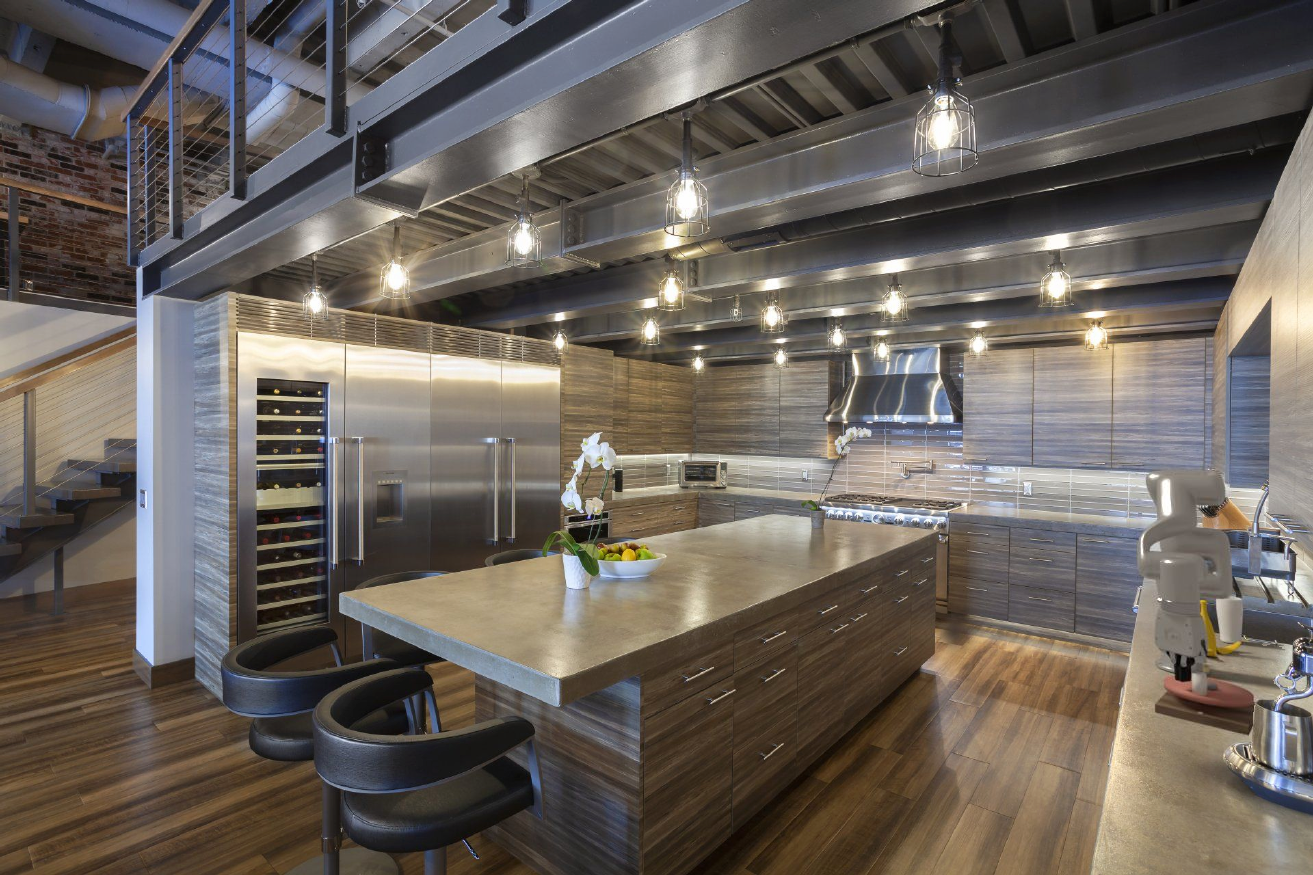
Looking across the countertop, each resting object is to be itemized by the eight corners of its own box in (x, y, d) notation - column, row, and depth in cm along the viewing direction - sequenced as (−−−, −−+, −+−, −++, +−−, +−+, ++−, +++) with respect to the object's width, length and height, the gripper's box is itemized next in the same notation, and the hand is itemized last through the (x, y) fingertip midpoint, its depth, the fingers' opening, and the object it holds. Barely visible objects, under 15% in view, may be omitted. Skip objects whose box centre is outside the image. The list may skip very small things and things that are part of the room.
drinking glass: (1250, 645, 209) (1248, 599, 209) (1229, 645, 209) (1227, 600, 209) (1231, 639, 216) (1230, 595, 216) (1212, 639, 216) (1210, 595, 216)
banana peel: (1165, 642, 213) (1164, 593, 214) (1241, 652, 203) (1239, 600, 203) (1171, 656, 200) (1169, 603, 200) (1252, 666, 189) (1250, 611, 189)
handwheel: (1154, 691, 159) (1153, 665, 159) (1174, 676, 169) (1174, 652, 169) (1245, 713, 145) (1243, 685, 145) (1261, 695, 155) (1260, 669, 155)
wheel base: (1173, 691, 170) (1173, 676, 170) (1261, 711, 157) (1260, 694, 157) (1155, 712, 157) (1154, 695, 157) (1248, 735, 144) (1247, 716, 144)
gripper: (1139, 601, 163) (1141, 671, 163) (1200, 615, 149) (1203, 693, 148) (1161, 599, 165) (1164, 668, 165) (1224, 613, 151) (1227, 689, 150)
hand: (1183, 680), depth 157 cm, fingers closed
